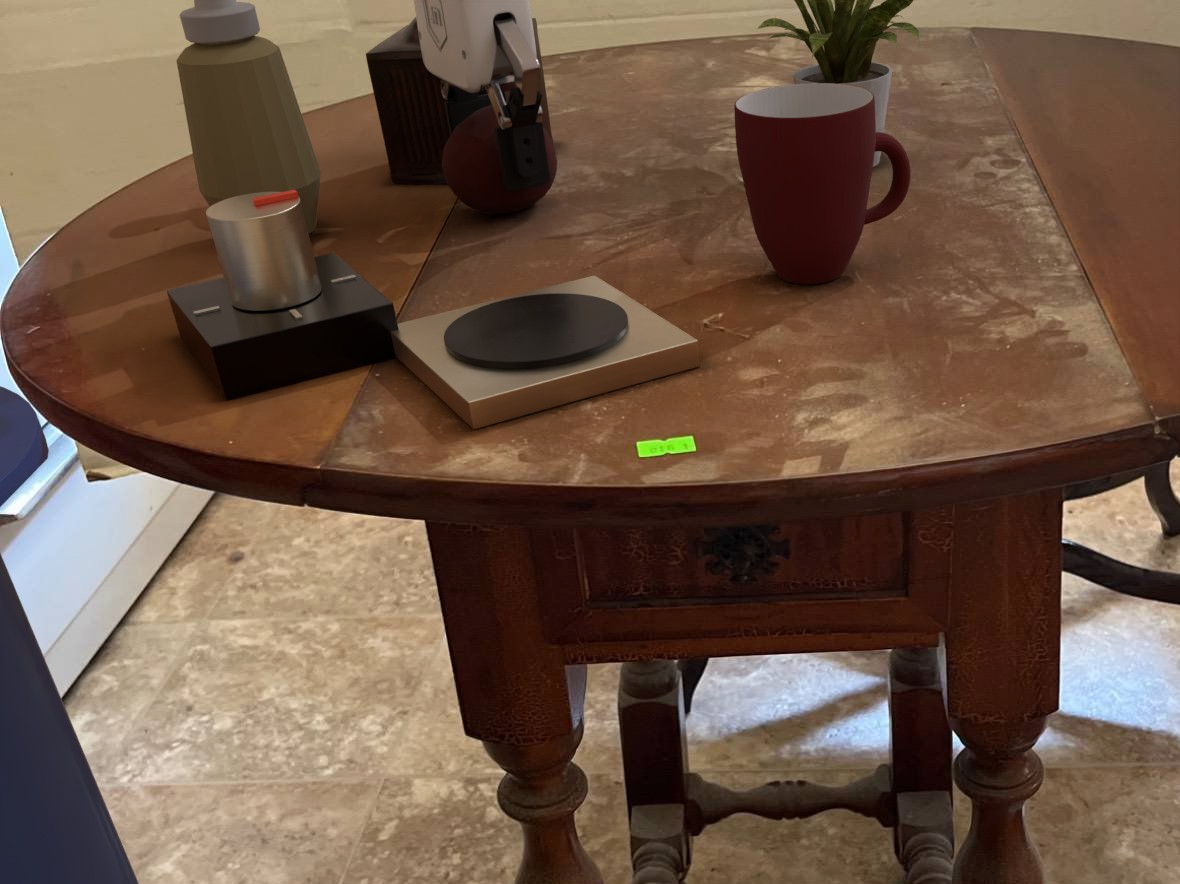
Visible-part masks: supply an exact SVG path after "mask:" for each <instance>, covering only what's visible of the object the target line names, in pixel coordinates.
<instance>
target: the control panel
mask: <svg viewBox="0 0 1180 884" xmlns="http://www.w3.org/2000/svg"><path fill="white" fill-rule="evenodd" d="M314 259H315V263H316V267H317V271H318V275H319V279H320V284H321V292H320V293H319V294H318V295H317V296H316V297H314V298H313V299H311V300H309V301H307V302H305V303H302V304H299V305H296V306H292V307H289V308H284V309H278V310H271V311H247V310H242V309H238V308H236V307H234V306H233V305H232V303H231V301H230V297H229V294H228V290H227V287H226V283H225V279H224V276H223V277H219V278H214V279H210V280H205V281H201V282H196V283H192V284H188V285H183V286H179V287H173V288H170V289H166V294H167V297H168V300H169V304H170V308H171V311H172V313H173V317H174V320H175V324H176V327H177V329H178V333H179V337H180V340H181V341H182V342H183V344H184V345H185V346H186V347H187V349H188V350H189V351H190V353H191V354H192V356H193V357H194V359H195V360H196V361H197V362H198V364H199V365H200V366H201V368H202V369H203V370H204V372H205V373H206V375H207V376H208V377H209V379H210V380H211V381H212V382H213V384H214V385H215V387H216V388H217V389H218V390H219V392H220V393H221V394H222V396H223V397H224V398H225V400H227V401H229V400H233V399H236V398H240V397H244V396H248V395H252V394H255V393H260V392H263V391H267V390H271V389H275V388H279V387H284V386H288V385H292V384H295V383H298V382H304V381H308V380H311V379H315V378H320V377H323V376H327V375H331V374H335V373H339V372H343V371H347V370H351V369H354V368H358V367H363V366H366V365H370V364H374V363H379V362H382V361H386V360H391V359H393V358H397V357H396V355H395V351H394V346H393V341H392V337H391V331H395V330H399V329H398V320H397V316H396V311H395V306H394V303H393V302H392V301H391V300H390V299H389V298H387V297H386V295H384V294H383V293H382V292H381V291H379V290H378V289H377V288H376V287H375V286H373V285H372V284H371V283H370V282H369V281H367V279H365V277H363V276H362V275H361V274H359V272H358V271H356V270H355V269H353V268H352V267H351V265H349V264H348V263H347V262H345V260H343V259H342V258H341V257H340V256H339V255H338V254H336V253H335V252H332V253H327V254H322V255H318V256H314Z"/></svg>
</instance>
